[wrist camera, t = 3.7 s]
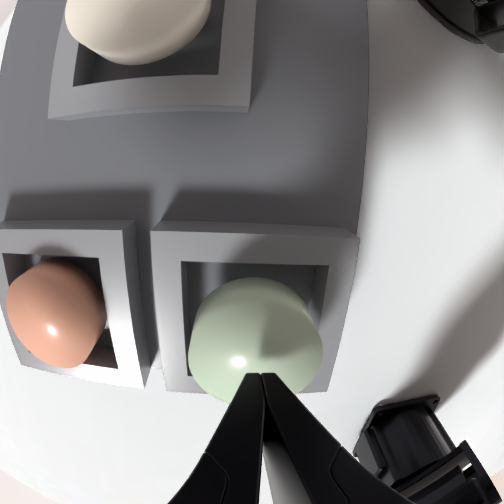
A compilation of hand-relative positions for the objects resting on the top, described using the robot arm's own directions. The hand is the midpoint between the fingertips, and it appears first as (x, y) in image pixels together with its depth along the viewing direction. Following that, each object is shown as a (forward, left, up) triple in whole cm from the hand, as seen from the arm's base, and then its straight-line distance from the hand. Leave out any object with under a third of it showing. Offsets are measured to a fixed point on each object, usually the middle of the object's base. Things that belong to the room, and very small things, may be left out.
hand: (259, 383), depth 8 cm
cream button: (+4, -11, -3) cm, 12 cm away
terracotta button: (+8, 0, -4) cm, 9 cm away
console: (+4, -6, -7) cm, 10 cm away
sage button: (0, 0, -3) cm, 3 cm away
